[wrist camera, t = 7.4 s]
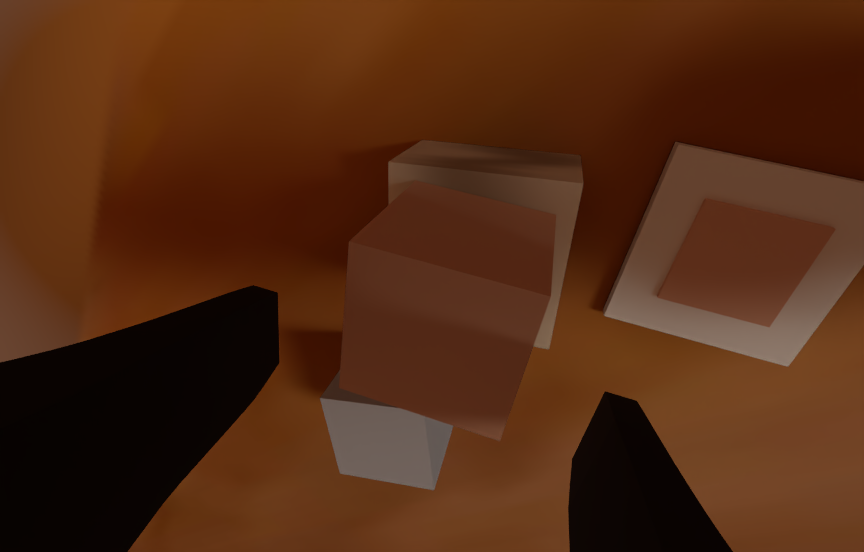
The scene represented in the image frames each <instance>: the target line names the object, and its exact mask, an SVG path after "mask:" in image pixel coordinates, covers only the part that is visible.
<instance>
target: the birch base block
mask: <svg viewBox="0 0 864 552" xmlns="http://www.w3.org/2000/svg"><path fill="white" fill-rule="evenodd" d="M415 180H416V181H420V182H425V183H429V184H433V185H437V186H441V187H445V188H449V189H453V190H457V191H461V192H465V193H469V194H473V195H478V196H482V197H486V198H490V199H494V200H498V201H502V202H506V203H510V204H514V205H518V206H522V207H526V208H530V209H535V210H539V211H543V212H547V213H551V214H555V215H556V227H555V242H554V257H553V272H552V287H551V298H550V301H549V303H548V306H547V309H546V312H545V315H544V318H543V320H542V323H541V326H540V329H539V332H538V334H537V337H536V340H535V343H534V347H539V348H544V349H549V347H550V342H551V337H552V332H553V328H554V323H555V318H556V313H557V309H558V304H559V299H560V294H561V289H562V285H563V280H564V275H565V270H566V265H567V261H568V256H569V251H570V246H571V241H572V237H573V232H574V227H575V222H576V218H577V213H578V208H579V203H580V198H581V194H582V189H583V184H584V183H583V173H582V164H581V155H573V154H563V153H553V152H542V151H532V150H522V149H512V148H501V147H491V146H481V145H471V144H460V143H450V142H440V141H430V140H421V141H420V142H418V143H417V144H415V145H413V146H412V147H410V148H409V149H407V150H406V151H404V152H403V153H401V154H400V155H398V156H396V157H395V158H393V159H392V160H390V161H389V162H388V200H389V204H390V203H391V202H392V201H393V200H395V199H396V198H397V197H398V196H399V195H400V194H401V193H402V192H403V191H404V190H406V189H407V188H408V187H409V186H410V185H411V184H412V183H413V182H414V181H415Z"/></svg>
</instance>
